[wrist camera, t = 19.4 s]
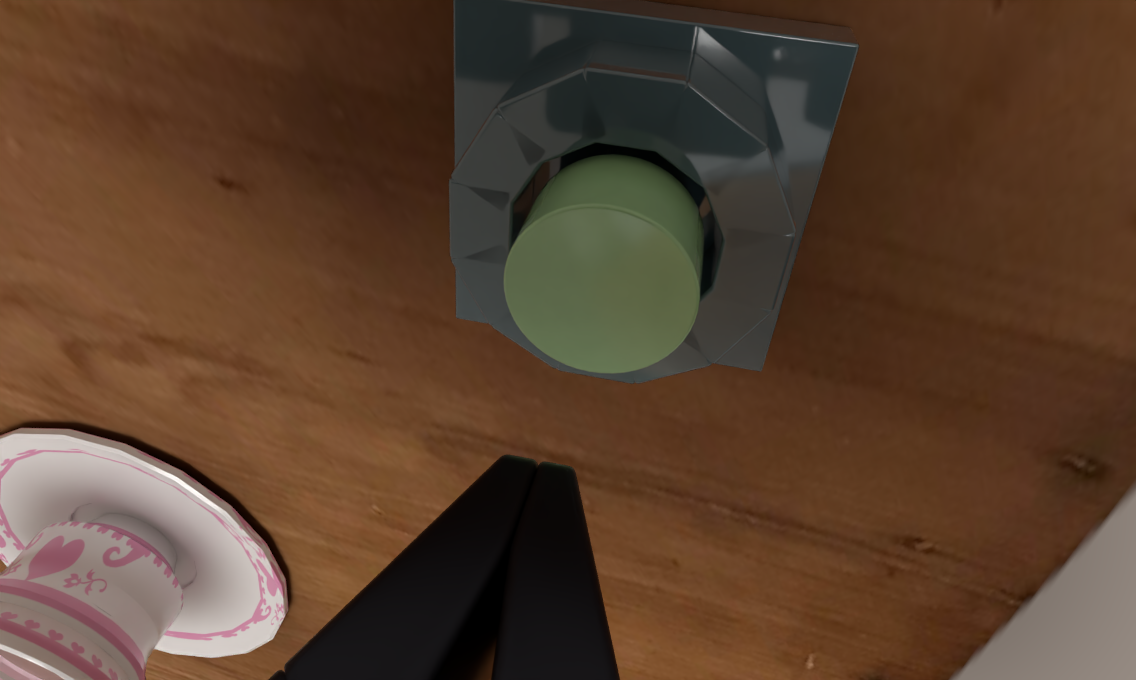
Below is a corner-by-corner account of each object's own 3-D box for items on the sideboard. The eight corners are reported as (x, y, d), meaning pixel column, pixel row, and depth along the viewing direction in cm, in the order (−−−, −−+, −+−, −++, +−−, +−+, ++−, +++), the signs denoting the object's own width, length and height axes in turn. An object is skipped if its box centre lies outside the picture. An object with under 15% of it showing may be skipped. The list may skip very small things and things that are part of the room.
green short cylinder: (721, 167, 13) (717, 223, 11) (687, 323, 15) (681, 389, 13) (534, 140, 13) (505, 189, 11) (525, 295, 15) (499, 357, 13)
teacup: (251, 449, 23) (118, 625, 18) (319, 667, 30) (237, 837, 25) (-87, 398, 25) (-293, 546, 20) (52, 615, 32) (-75, 766, 27)
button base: (851, 26, 13) (875, 76, 11) (760, 341, 18) (763, 426, 15) (471, -23, 14) (416, 14, 12) (470, 291, 18) (429, 366, 16)
